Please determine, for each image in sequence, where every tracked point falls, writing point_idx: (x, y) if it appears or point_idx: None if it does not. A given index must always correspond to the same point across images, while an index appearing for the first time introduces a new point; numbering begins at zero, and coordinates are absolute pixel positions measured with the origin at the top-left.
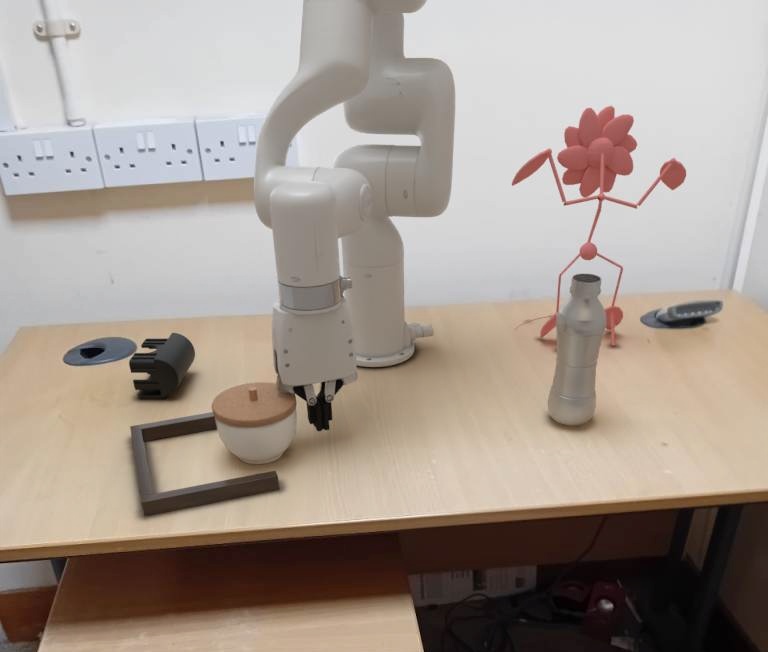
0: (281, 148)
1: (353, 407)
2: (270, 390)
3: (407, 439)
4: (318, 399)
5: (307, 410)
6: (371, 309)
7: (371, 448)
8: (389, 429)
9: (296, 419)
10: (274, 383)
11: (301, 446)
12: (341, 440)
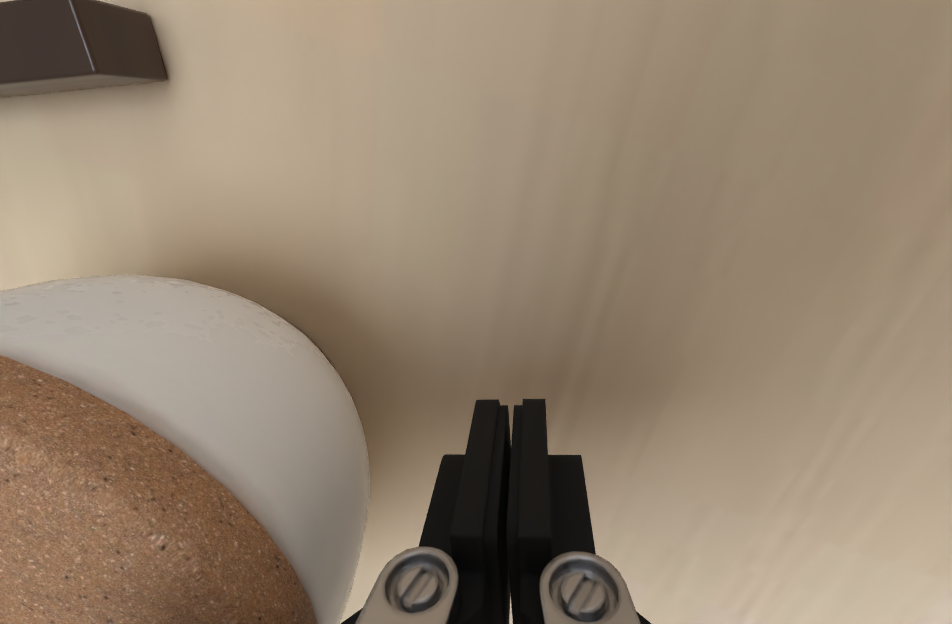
0: None
1: (839, 59)
2: (60, 609)
3: (906, 500)
4: (510, 577)
5: (433, 498)
6: None
7: (709, 507)
8: (885, 397)
9: (352, 583)
10: (67, 471)
11: (420, 400)
12: (608, 412)
